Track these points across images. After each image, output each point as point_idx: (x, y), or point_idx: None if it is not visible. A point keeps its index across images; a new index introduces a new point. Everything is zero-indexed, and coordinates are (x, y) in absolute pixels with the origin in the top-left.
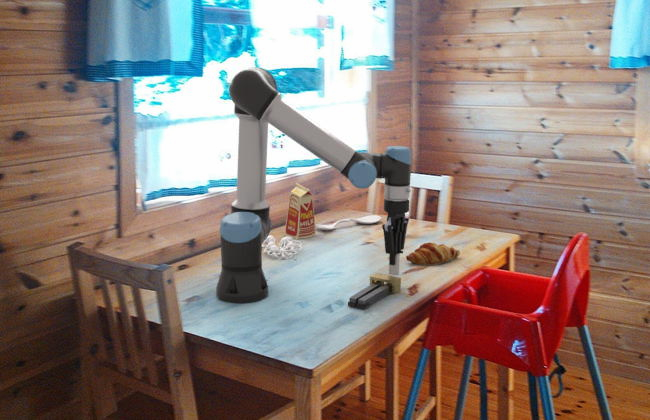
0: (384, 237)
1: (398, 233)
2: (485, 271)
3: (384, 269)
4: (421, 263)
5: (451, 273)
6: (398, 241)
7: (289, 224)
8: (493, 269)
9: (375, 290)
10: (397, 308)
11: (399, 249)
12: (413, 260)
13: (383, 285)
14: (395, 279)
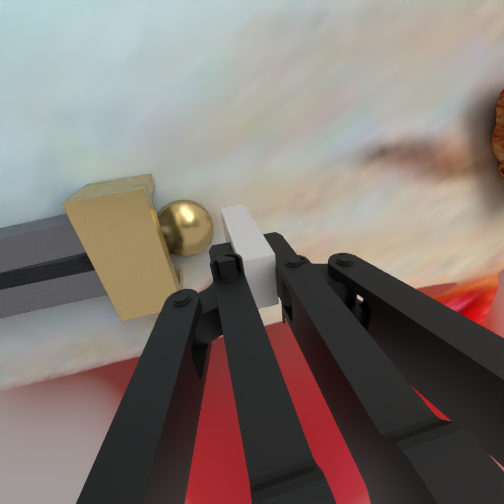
0: (88, 482)
1: (356, 452)
2: (467, 309)
3: (383, 35)
4: (493, 146)
5: (426, 269)
6: (312, 367)
7: None
8: (486, 311)
9: (9, 293)
10: (43, 364)
11: (289, 322)
12: (501, 118)
13: (94, 273)
14: (144, 309)
